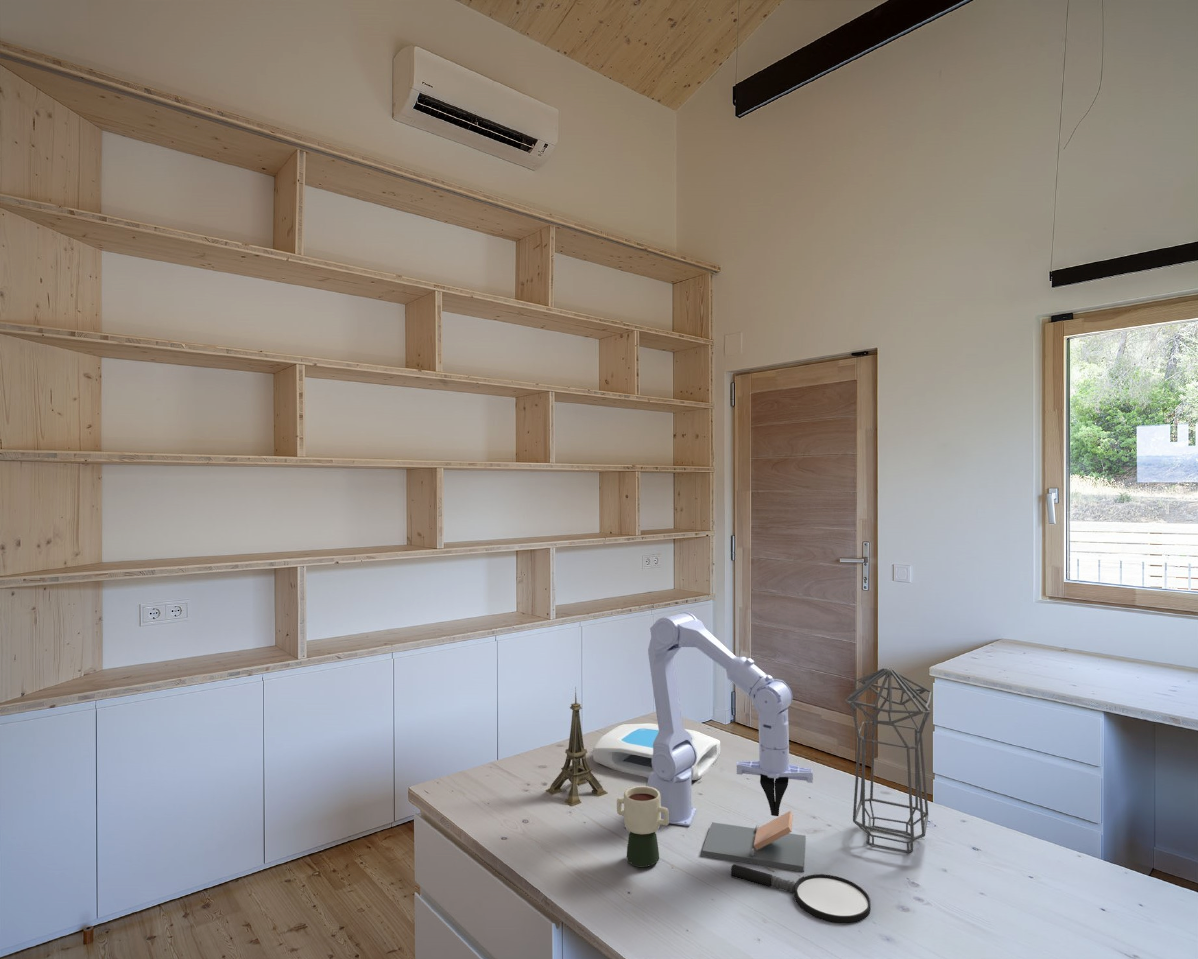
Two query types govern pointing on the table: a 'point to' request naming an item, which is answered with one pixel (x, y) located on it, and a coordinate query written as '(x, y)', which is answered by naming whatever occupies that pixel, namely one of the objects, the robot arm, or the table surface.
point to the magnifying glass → (817, 894)
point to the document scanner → (649, 749)
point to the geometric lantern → (854, 704)
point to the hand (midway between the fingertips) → (775, 813)
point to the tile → (773, 830)
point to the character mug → (642, 823)
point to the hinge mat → (740, 847)
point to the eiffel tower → (576, 764)
